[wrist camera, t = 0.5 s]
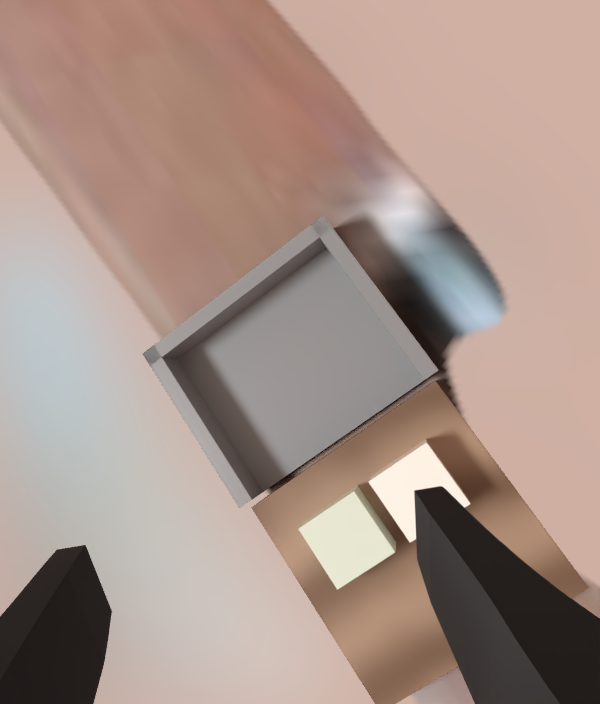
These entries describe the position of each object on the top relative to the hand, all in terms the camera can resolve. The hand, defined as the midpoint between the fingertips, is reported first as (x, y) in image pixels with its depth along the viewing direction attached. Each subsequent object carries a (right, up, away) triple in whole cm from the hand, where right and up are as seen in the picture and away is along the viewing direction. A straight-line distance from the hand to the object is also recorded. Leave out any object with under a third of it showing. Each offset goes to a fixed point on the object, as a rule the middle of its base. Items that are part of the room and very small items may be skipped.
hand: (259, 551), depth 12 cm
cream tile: (+8, -4, +20) cm, 22 cm away
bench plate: (+8, -7, +22) cm, 25 cm away
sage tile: (+4, -7, +21) cm, 22 cm away
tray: (0, +4, +25) cm, 25 cm away
